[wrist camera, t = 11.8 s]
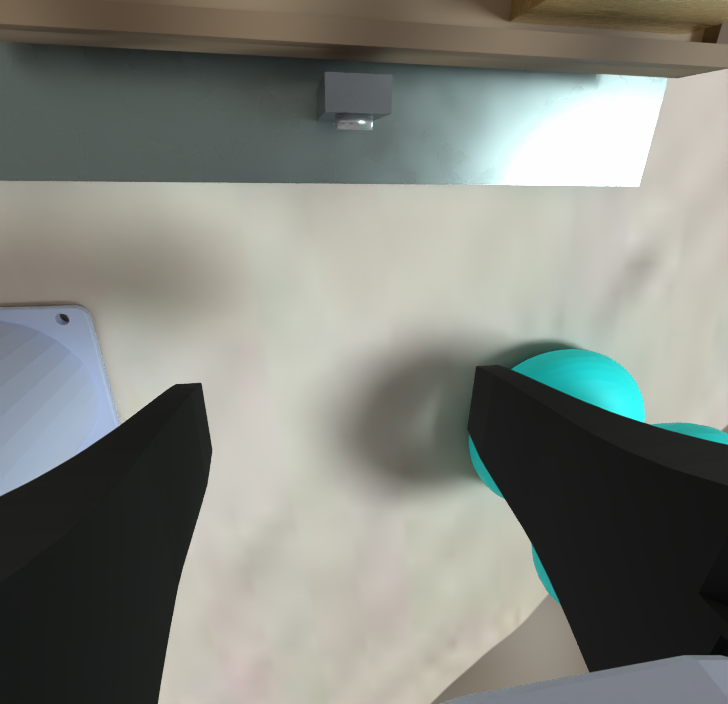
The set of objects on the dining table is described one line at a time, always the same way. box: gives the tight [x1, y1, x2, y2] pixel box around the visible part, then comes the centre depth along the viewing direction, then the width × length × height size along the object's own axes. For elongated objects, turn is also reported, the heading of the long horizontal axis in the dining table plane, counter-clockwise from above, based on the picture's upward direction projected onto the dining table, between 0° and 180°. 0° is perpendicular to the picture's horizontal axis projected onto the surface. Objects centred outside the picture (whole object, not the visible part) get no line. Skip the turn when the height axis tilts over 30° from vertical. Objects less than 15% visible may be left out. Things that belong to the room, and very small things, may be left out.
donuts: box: [469, 349, 728, 605], centre depth 21 cm, size 10×10×10 cm
